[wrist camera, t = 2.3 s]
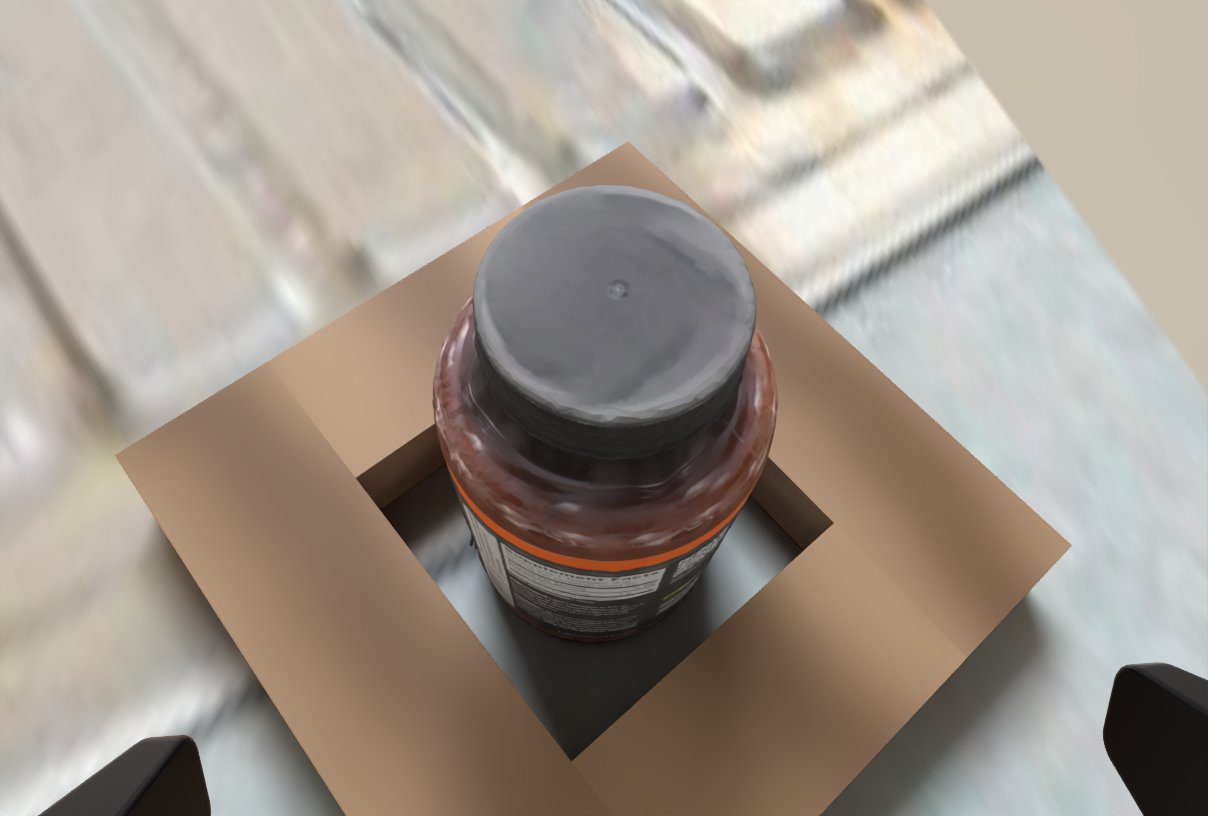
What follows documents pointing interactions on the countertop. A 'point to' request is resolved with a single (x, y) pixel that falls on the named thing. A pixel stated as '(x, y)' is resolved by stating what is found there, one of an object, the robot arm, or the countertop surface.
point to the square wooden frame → (461, 663)
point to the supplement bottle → (604, 407)
